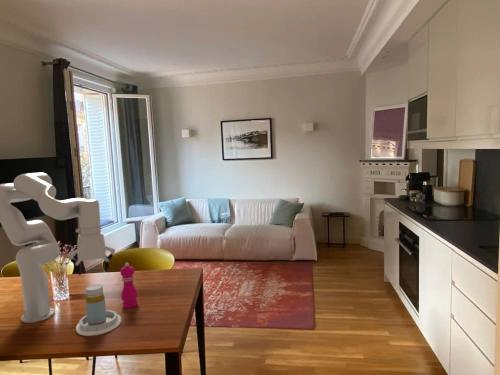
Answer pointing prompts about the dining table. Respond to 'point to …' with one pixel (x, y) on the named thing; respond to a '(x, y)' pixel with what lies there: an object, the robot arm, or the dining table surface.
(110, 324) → the collar base
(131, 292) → the pepper mill
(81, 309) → the dining table surface
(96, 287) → the bottle
